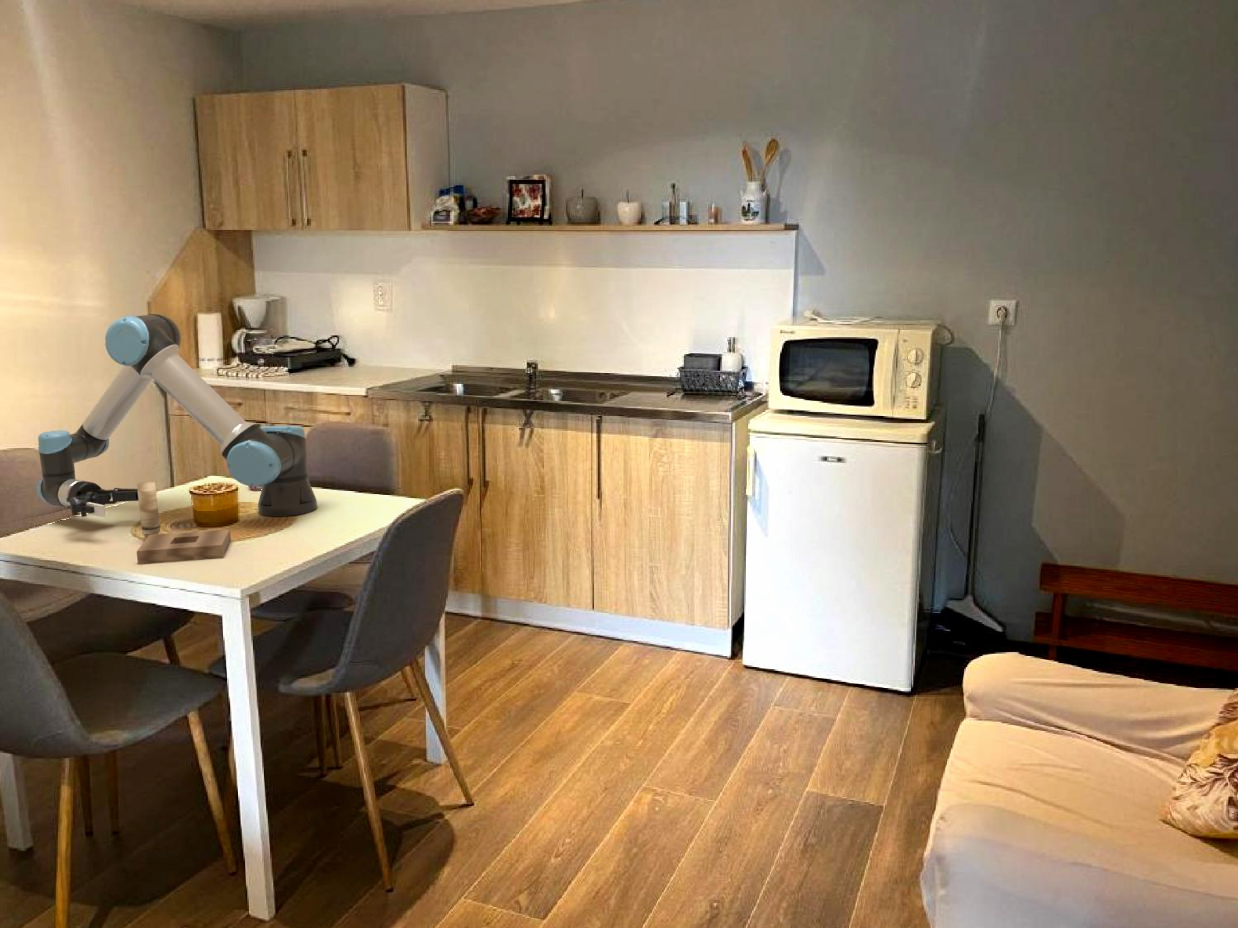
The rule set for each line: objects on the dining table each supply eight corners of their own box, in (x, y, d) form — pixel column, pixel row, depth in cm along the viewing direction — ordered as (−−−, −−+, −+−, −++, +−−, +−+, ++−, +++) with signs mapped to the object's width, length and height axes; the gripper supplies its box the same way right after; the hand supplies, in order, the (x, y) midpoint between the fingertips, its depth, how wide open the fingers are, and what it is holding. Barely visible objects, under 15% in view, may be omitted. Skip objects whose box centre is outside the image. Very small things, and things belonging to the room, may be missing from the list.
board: (231, 541, 249) (229, 529, 248) (222, 557, 235) (221, 544, 235) (150, 547, 245) (149, 535, 244) (137, 564, 232) (136, 551, 231)
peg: (162, 537, 254) (156, 481, 251) (159, 541, 250) (153, 484, 247) (144, 538, 253) (138, 482, 250) (141, 542, 249) (135, 486, 246)
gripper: (128, 499, 276) (177, 509, 264) (34, 520, 255) (82, 531, 244) (125, 472, 274) (174, 480, 263) (30, 490, 254) (78, 500, 242)
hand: (130, 505), depth 253 cm, fingers open, 13 cm apart
